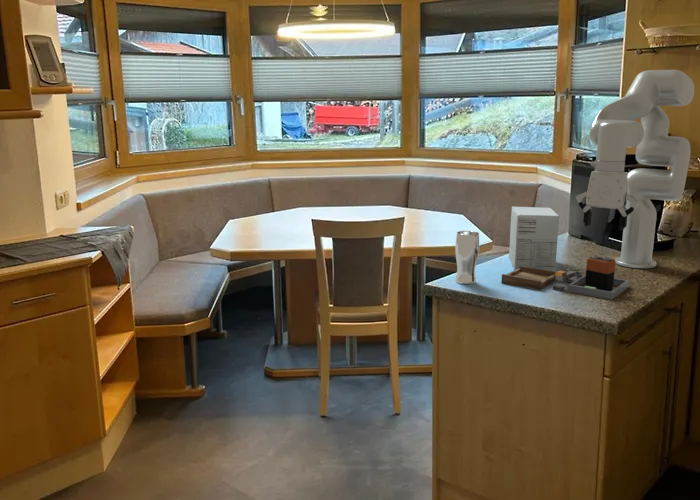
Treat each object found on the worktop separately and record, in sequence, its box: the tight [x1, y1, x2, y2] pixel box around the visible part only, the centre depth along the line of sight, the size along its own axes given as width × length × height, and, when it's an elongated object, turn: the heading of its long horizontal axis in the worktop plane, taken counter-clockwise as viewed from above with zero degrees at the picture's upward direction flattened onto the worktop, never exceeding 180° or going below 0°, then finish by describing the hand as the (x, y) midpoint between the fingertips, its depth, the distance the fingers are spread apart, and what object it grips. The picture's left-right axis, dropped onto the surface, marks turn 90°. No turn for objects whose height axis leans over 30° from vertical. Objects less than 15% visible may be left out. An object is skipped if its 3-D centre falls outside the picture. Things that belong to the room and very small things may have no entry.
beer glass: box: [454, 230, 480, 285], centre depth 200 cm, size 7×7×15 cm
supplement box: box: [508, 206, 560, 272], centre depth 220 cm, size 17×13×18 cm
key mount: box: [552, 267, 583, 292], centre depth 199 cm, size 14×5×3 cm, turn 142°
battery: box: [584, 254, 616, 292], centre depth 194 cm, size 4×7×10 cm, turn 42°
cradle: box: [567, 273, 630, 301], centre depth 194 cm, size 16×12×2 cm
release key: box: [555, 270, 578, 281], centre depth 198 cm, size 12×2×2 cm, turn 142°
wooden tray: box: [500, 266, 558, 291], centre depth 202 cm, size 13×12×3 cm
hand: (604, 227), depth 190 cm, fingers open, 9 cm apart
